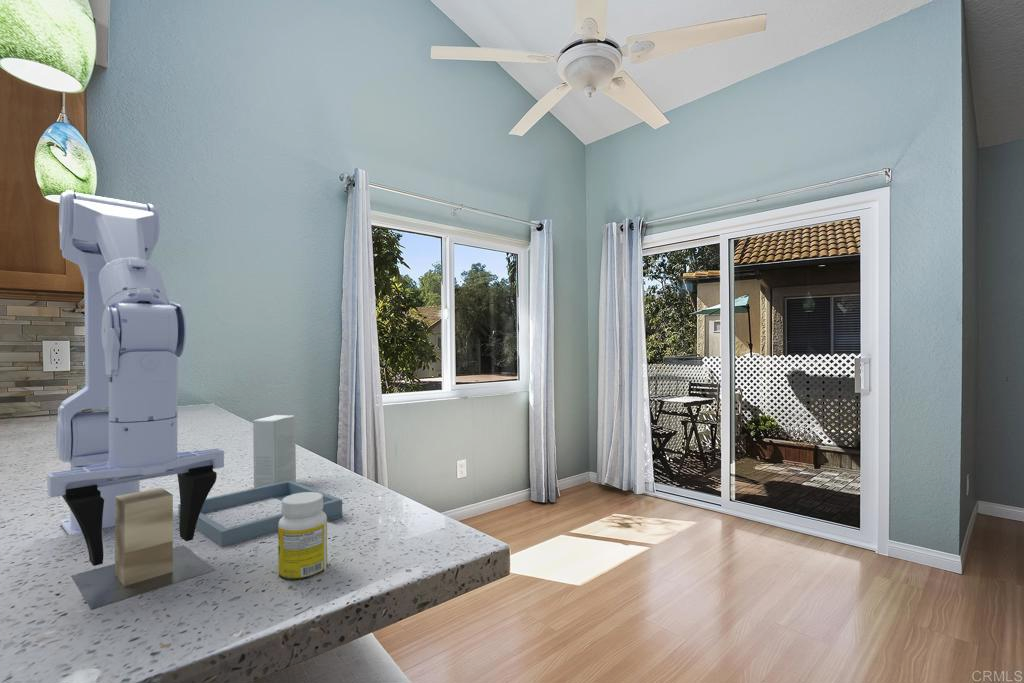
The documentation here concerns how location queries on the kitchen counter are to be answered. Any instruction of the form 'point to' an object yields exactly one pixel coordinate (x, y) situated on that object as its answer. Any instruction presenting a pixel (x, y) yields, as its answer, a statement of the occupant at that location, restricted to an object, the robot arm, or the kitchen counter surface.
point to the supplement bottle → (302, 537)
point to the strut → (143, 535)
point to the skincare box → (274, 450)
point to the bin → (261, 526)
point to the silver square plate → (109, 589)
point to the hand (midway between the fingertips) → (144, 549)
